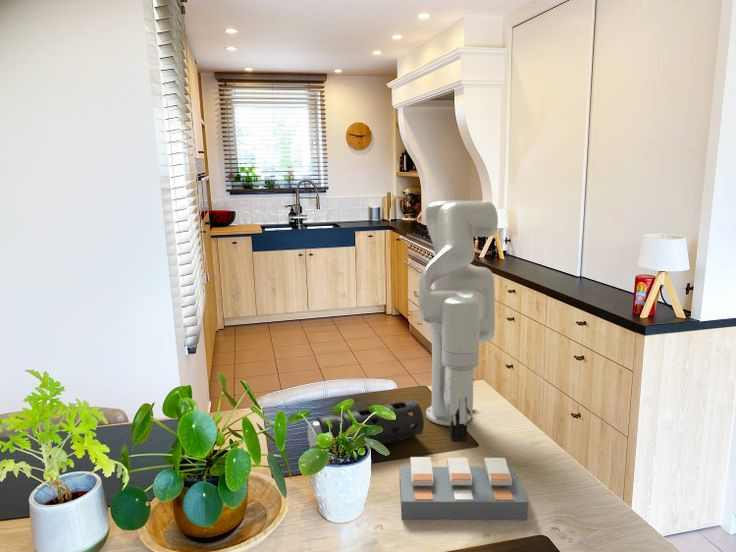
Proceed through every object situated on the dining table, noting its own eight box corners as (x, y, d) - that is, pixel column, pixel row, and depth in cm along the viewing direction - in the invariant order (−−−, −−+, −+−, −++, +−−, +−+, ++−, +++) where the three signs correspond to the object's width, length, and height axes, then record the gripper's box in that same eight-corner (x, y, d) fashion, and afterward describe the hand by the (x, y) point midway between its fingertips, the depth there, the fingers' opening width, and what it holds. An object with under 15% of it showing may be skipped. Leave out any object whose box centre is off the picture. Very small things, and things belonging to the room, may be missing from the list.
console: (399, 482, 125) (399, 465, 124) (512, 483, 125) (513, 466, 124) (401, 519, 113) (401, 500, 112) (527, 520, 112) (528, 501, 111)
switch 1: (410, 465, 123) (410, 456, 122) (430, 465, 123) (430, 456, 122) (411, 490, 117) (412, 480, 115) (433, 490, 116) (433, 480, 115)
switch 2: (446, 466, 123) (447, 457, 122) (466, 466, 123) (467, 457, 122) (450, 489, 116) (450, 479, 115) (471, 489, 116) (472, 480, 115)
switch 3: (483, 466, 122) (484, 457, 122) (504, 466, 122) (505, 457, 121) (489, 489, 116) (490, 480, 115) (511, 490, 116) (512, 480, 115)
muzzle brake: (424, 445, 142) (424, 407, 140) (319, 469, 131) (317, 429, 129) (407, 429, 151) (407, 393, 149) (307, 451, 140) (305, 412, 138)
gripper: (438, 346, 123) (437, 424, 126) (446, 369, 108) (444, 457, 112) (472, 346, 123) (470, 425, 126) (485, 369, 108) (482, 457, 111)
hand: (458, 440), depth 119 cm, fingers closed
